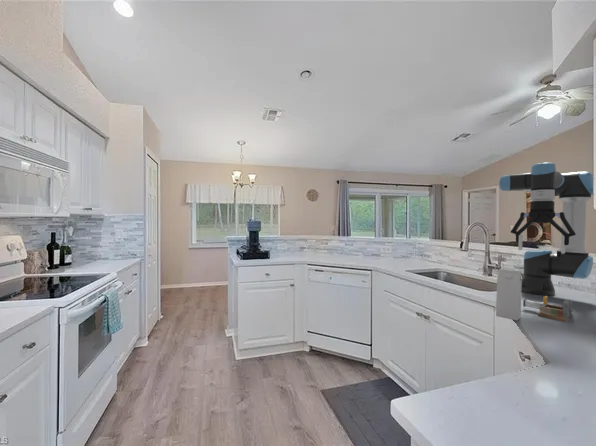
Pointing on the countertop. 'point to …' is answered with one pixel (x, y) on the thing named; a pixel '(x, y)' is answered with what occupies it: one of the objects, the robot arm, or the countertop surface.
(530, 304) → the plunger
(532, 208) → the robot arm
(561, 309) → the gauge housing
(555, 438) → the countertop surface
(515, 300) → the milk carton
